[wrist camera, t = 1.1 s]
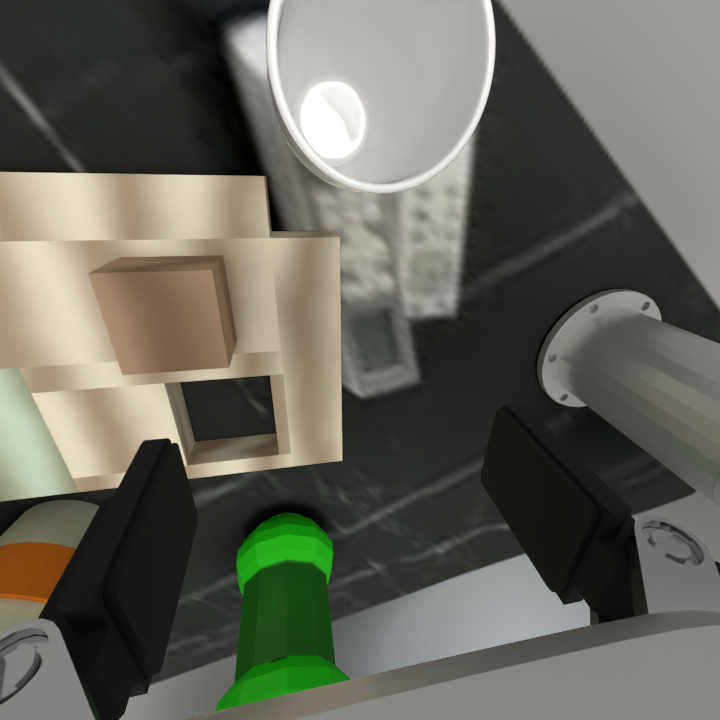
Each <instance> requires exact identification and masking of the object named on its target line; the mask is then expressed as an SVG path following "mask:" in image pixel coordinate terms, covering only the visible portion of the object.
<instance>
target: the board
mask: <svg viewBox="0 0 720 720" xmlns="http://www.w3.org/2000/svg"><path fill="white" fill-rule="evenodd" d="M207 255H223V257H224V263H225V270H226V276H227V282H228V288H229V295H230V301H231V307H232V314H233V320H234V326H235V332H236V339H237V342H236V346H235V349H234V353H233V356H232V360H231V363H230V366H229V368H218V369H204V370H190V371H176V372H162V373H148V374H134V375H122V372H121V370H120V367H119V364H118V361H117V358H116V355H115V352H114V349H113V346H112V343H111V340H110V337H109V334H108V331H107V328H106V325H105V323H104V320H103V317H102V314H101V311H100V308H99V305H98V302H97V299H96V296H95V293H94V290H93V287H92V284H91V281H90V278H89V276H88V273H90V272H92V271H94V270H96V269H97V268H99V267H101V266H103V265H105V264H107V263H109V262H111V261H113V260H115V259H117V258H119V257H157V256H207ZM266 375H270V381H271V389H272V398H273V406H274V414H275V423H276V431H277V433H275V434H265V435H255V436H246V437H236V438H226V439H217V440H207V441H197V442H195V439H194V435H193V431H192V427H191V423H190V419H189V415H188V411H187V408H186V404H185V400H184V396H183V392H182V388H181V384H180V382H187V381H200V380H213V379H226V378H240V377H253V376H266ZM163 438H169V439H170V441H171V443H177V444H178V445H179V448H180V452H181V456H182V459H183V463H184V466H185V470H186V474H187V477H188V479H192V478H200V477H209V476H217V475H225V474H234V473H242V472H250V471H259V470H267V469H275V468H284V467H292V466H300V465H309V464H317V463H325V462H334V461H342V390H341V289H340V237H339V236H338V234H337V233H336V232H335V231H271V220H270V210H269V199H268V189H267V178H266V176H235V175H174V174H113V173H52V172H0V501H8V500H17V499H25V498H33V497H42V496H50V495H58V494H67V493H75V492H83V491H92V490H100V489H108V488H117V487H119V485H120V483H121V481H122V479H123V477H124V475H125V473H126V471H127V470H128V468H129V466H130V464H131V462H132V460H133V458H134V456H135V454H136V452H137V451H138V449H139V447H140V445H141V443H142V442H143V441H145V440H153V439H163Z"/></svg>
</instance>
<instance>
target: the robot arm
mask: <svg viewBox="0 0 720 720" xmlns="http://www.w3.org/2000/svg"><path fill="white" fill-rule="evenodd" d="M537 375H538V380H539V383H540V386H541V387H542V389H543V390H544V392H545V393H546V394H547V395H549V396H550V397H551V398H552V399H553V400H555V401H556V402H558V403H559V404H562V405H566V406H571V407H582V406H588V407H589V408H590V409H592V410H593V411H594V412H596V413H597V414H598V415H599V416H601V417H602V418H603V419H605V420H606V421H607V422H609V423H610V424H611V425H612V426H614V427H615V428H616V429H618V430H619V431H620V432H621V433H623V434H624V435H625V436H627V437H628V438H629V439H631V440H632V441H633V442H634V443H636V444H637V445H638V446H640V447H641V448H642V449H643V450H645V451H646V452H647V453H649V454H650V455H651V456H653V457H654V458H655V459H656V460H658V461H659V462H660V463H662V464H663V465H664V466H665V467H667V468H668V469H669V470H671V471H672V472H673V473H675V474H676V475H677V476H678V477H680V478H681V479H682V480H684V481H685V482H686V483H687V484H689V485H690V486H691V487H693V488H694V489H695V490H697V491H698V492H699V493H700V494H702V495H703V496H704V497H706V498H707V499H709V500H710V501H711V502H712V503H714V504H715V505H716V506H718V507H719V508H720V344H718V343H716V342H713V341H711V340H708V339H706V338H703V337H700V336H698V335H695V334H693V333H690V332H688V331H685V330H683V329H680V328H678V327H675V326H673V325H670V324H667V323H665V322H662V321H661V314H660V311H659V308H658V307H657V305H656V304H655V302H654V301H653V300H652V299H651V298H649V297H648V296H646V295H644V294H642V293H639V292H636V291H634V290H629V289H610V290H606V291H602V292H599V293H597V294H594V295H592V296H590V297H587V298H586V299H584V300H583V301H581V302H579V303H578V304H576V305H575V306H574V307H572V308H571V309H570V310H569V311H568V312H566V313H565V314H564V315H563V316H562V317H561V319H560V320H559V321H558V322H557V323H556V324H555V325H554V327H553V328H552V330H551V331H550V332H549V334H548V335H547V337H546V339H545V341H544V343H543V345H542V348H541V351H540V354H539V357H538V364H537ZM481 481H482V484H483V486H484V488H485V490H486V491H487V493H488V494H489V496H490V497H491V499H492V501H493V502H494V504H495V505H496V507H497V508H498V510H499V512H500V513H501V515H502V516H503V518H504V519H505V521H506V523H507V524H508V526H509V527H510V529H511V530H512V532H513V534H514V535H515V537H516V538H517V540H518V541H519V543H520V545H521V546H522V548H523V549H524V551H525V552H526V554H527V556H528V557H529V559H530V560H531V562H532V563H533V565H534V567H535V568H536V570H537V571H538V572H539V574H540V576H541V578H542V579H543V581H544V582H545V584H546V585H547V587H548V588H549V589H550V590H551V591H552V592H556V593H557V595H558V597H559V598H560V600H561V601H562V603H563V604H564V605H565V604H570V603H574V602H579V601H582V600H583V599H584V600H585V601H586V603H587V604H588V605H589V607H590V624H591V625H590V626H586V627H581V628H577V629H572V630H568V631H563V632H559V633H554V634H550V635H545V636H541V637H536V638H532V639H527V640H523V641H518V642H514V643H509V644H505V645H500V646H496V647H491V648H487V649H483V650H478V651H474V652H469V653H465V654H461V655H456V656H452V657H447V658H443V659H438V660H434V661H430V662H425V663H421V664H416V665H412V666H408V667H403V668H399V669H394V670H390V671H386V672H381V673H377V674H373V675H369V676H364V677H360V678H355V679H351V680H347V681H342V682H338V683H334V684H330V685H325V686H321V687H317V688H313V689H308V690H304V691H300V692H295V693H291V694H287V695H283V696H278V697H274V698H270V699H265V700H261V701H257V702H253V703H248V704H244V705H240V706H236V707H232V708H228V709H224V710H220V711H216V712H213V713H209V714H205V715H201V716H197V717H193V718H189V719H185V720H720V563H718V562H716V561H714V559H713V556H712V555H711V553H710V551H709V549H708V548H707V546H706V545H705V544H704V543H703V542H702V541H701V540H700V539H699V538H698V537H697V536H696V535H694V534H693V533H692V532H691V531H689V530H688V529H686V528H685V527H683V526H681V525H680V524H678V523H676V522H673V521H671V520H669V519H667V518H663V517H659V516H655V515H644V516H641V517H638V518H637V520H636V521H635V520H634V519H633V518H632V517H631V516H630V513H631V511H632V509H631V508H630V507H629V506H628V505H627V504H626V503H625V502H624V501H623V500H622V499H621V498H620V497H619V496H618V495H617V494H616V493H615V492H614V491H613V490H612V489H611V488H610V487H608V486H607V485H606V484H605V483H604V482H603V481H602V480H601V479H600V478H599V477H598V476H597V475H596V474H595V473H594V472H593V471H592V470H591V469H590V468H589V467H588V466H587V465H586V464H585V463H584V462H583V461H582V460H581V459H580V458H578V457H577V456H576V455H575V454H574V453H573V452H572V451H571V450H570V449H569V448H568V447H567V446H566V445H565V444H564V443H563V442H562V441H561V440H560V439H559V438H558V437H557V436H556V435H555V434H554V433H553V432H552V431H551V430H550V429H548V428H547V427H546V426H545V425H544V424H543V423H542V422H541V421H540V420H539V419H538V418H537V417H536V416H535V415H534V414H533V413H532V412H531V411H530V410H529V409H528V408H527V407H526V406H524V405H523V404H515V405H505V406H502V408H501V409H500V411H498V412H497V413H496V415H495V419H494V423H493V427H492V431H491V435H490V439H489V443H488V447H487V451H486V455H485V459H484V464H483V468H482V472H481ZM196 527H197V510H196V507H195V503H194V499H193V496H192V492H191V488H190V485H189V481H188V477H187V474H186V470H185V466H184V463H183V459H182V456H181V452H180V448H179V445H178V444H177V443H171V441H170V439H169V438H163V439H153V440H145V441H143V442H142V443H141V445H140V447H139V449H138V451H137V452H136V454H135V456H134V458H133V460H132V462H131V464H130V466H129V468H128V470H127V471H126V473H125V475H124V477H123V479H122V481H121V483H120V485H119V487H118V489H117V491H116V492H115V494H114V496H113V497H108V498H106V499H105V500H104V501H103V502H102V504H101V505H100V506H99V508H98V510H97V512H96V514H95V516H94V517H93V519H92V521H91V523H90V525H89V526H88V528H87V530H86V532H85V534H84V535H83V537H82V539H81V541H80V543H79V545H78V546H77V548H76V550H75V552H74V554H73V555H72V557H71V559H70V561H69V563H68V564H67V566H66V568H65V570H64V572H63V574H62V575H61V577H60V579H59V581H58V583H57V584H56V586H55V588H54V590H53V592H52V593H51V595H50V597H49V599H48V601H47V603H46V604H45V606H44V608H43V610H42V612H41V613H40V615H39V617H38V619H31V620H27V621H24V622H21V623H18V624H15V625H13V626H11V627H9V628H7V629H6V630H4V631H2V632H0V720H119V719H120V718H121V716H122V715H123V714H124V713H125V710H126V706H127V703H128V699H129V697H133V696H137V695H142V694H147V692H148V688H149V685H150V681H151V677H152V675H155V674H158V673H159V672H160V670H161V668H162V664H163V661H164V657H165V653H166V649H167V645H168V641H169V637H170V632H171V628H172V624H173V620H174V616H175V612H176V608H177V604H178V600H179V596H180V592H181V588H182V584H183V580H184V576H185V572H186V567H187V563H188V559H189V555H190V551H191V547H192V543H193V539H194V535H195V531H196Z"/></svg>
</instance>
